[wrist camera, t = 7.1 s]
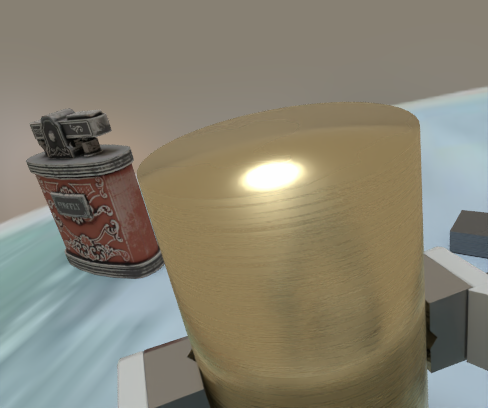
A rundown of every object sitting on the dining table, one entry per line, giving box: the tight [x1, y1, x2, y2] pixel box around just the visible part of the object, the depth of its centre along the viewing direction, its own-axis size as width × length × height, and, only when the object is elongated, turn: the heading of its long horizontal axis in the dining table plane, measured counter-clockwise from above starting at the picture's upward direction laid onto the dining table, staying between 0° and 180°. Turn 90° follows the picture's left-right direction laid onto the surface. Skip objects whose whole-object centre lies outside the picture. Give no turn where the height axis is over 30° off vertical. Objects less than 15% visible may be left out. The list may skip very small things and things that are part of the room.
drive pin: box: [137, 102, 428, 408], centre depth 9 cm, size 4×4×11 cm
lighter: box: [26, 109, 164, 278], centre depth 26 cm, size 8×3×10 cm, turn 59°
